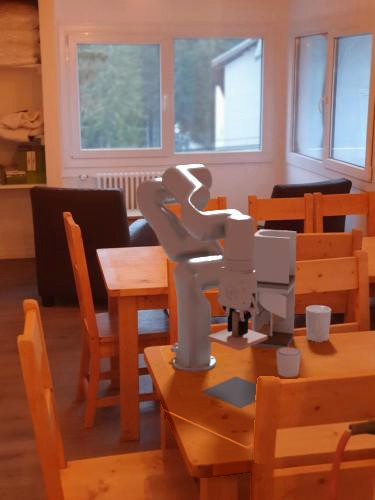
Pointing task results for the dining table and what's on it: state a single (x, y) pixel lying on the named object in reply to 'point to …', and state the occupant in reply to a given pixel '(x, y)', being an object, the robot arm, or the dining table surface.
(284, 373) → the shot glass
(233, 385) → the mat
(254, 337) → the lid
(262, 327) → the white coffee machine
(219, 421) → the dining table surface
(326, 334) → the white cup
